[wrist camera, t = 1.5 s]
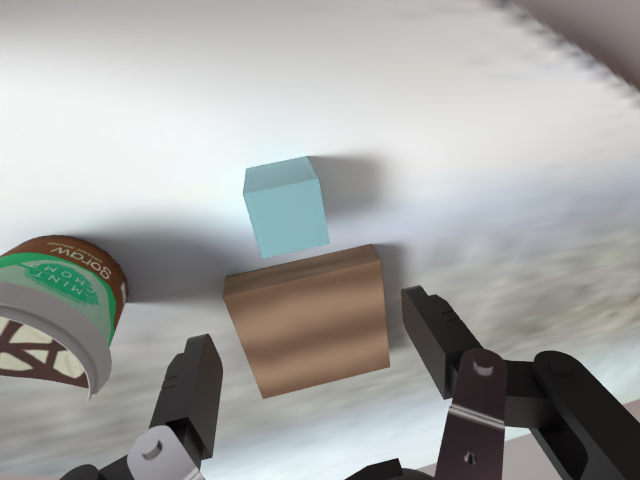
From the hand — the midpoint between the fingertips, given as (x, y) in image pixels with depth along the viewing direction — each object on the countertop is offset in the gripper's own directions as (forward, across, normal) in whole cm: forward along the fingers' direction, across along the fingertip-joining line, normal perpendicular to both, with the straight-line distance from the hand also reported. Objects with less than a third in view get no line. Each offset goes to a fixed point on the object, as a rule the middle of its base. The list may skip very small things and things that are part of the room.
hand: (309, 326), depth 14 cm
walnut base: (+16, 0, +14) cm, 21 cm away
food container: (+16, +18, +2) cm, 24 cm away
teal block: (+16, 0, 0) cm, 16 cm away
